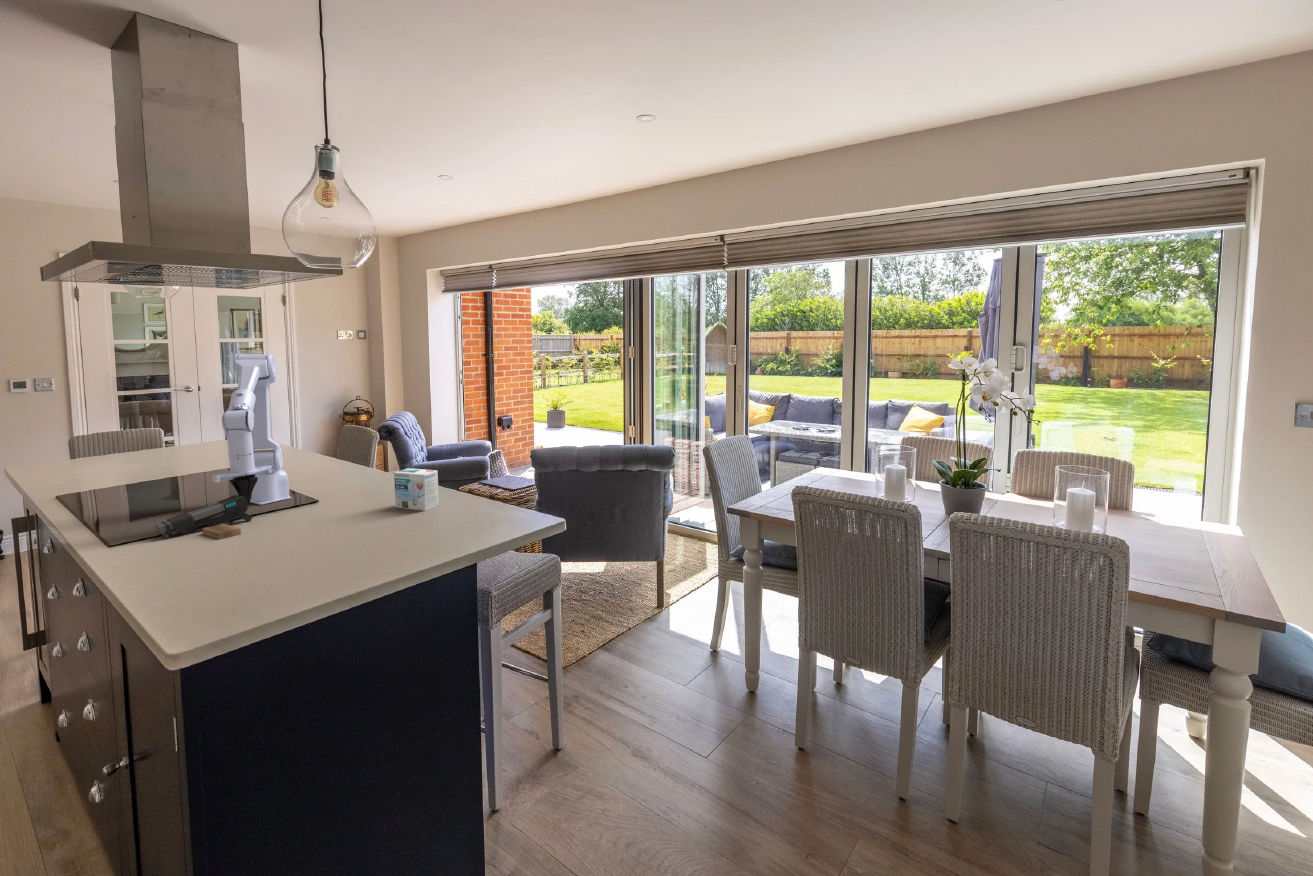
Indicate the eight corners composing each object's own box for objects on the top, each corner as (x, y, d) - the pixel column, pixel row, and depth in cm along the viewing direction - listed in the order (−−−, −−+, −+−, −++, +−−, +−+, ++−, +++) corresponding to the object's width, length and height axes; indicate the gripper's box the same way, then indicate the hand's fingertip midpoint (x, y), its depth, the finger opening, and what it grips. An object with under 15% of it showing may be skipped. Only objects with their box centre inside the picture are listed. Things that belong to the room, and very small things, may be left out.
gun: (257, 519, 181) (240, 487, 177) (179, 561, 167) (159, 528, 163) (250, 516, 183) (233, 485, 179) (172, 557, 170) (152, 524, 166)
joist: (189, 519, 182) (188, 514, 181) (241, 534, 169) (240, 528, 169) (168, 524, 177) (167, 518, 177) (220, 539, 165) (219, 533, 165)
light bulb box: (394, 508, 195) (392, 472, 194) (409, 502, 202) (407, 467, 200) (426, 511, 192) (424, 474, 190) (440, 505, 199) (438, 469, 197)
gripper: (221, 460, 172) (226, 511, 174) (276, 451, 184) (280, 499, 186) (206, 457, 175) (211, 507, 177) (261, 449, 188) (265, 496, 190)
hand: (245, 503), depth 182 cm, fingers closed
